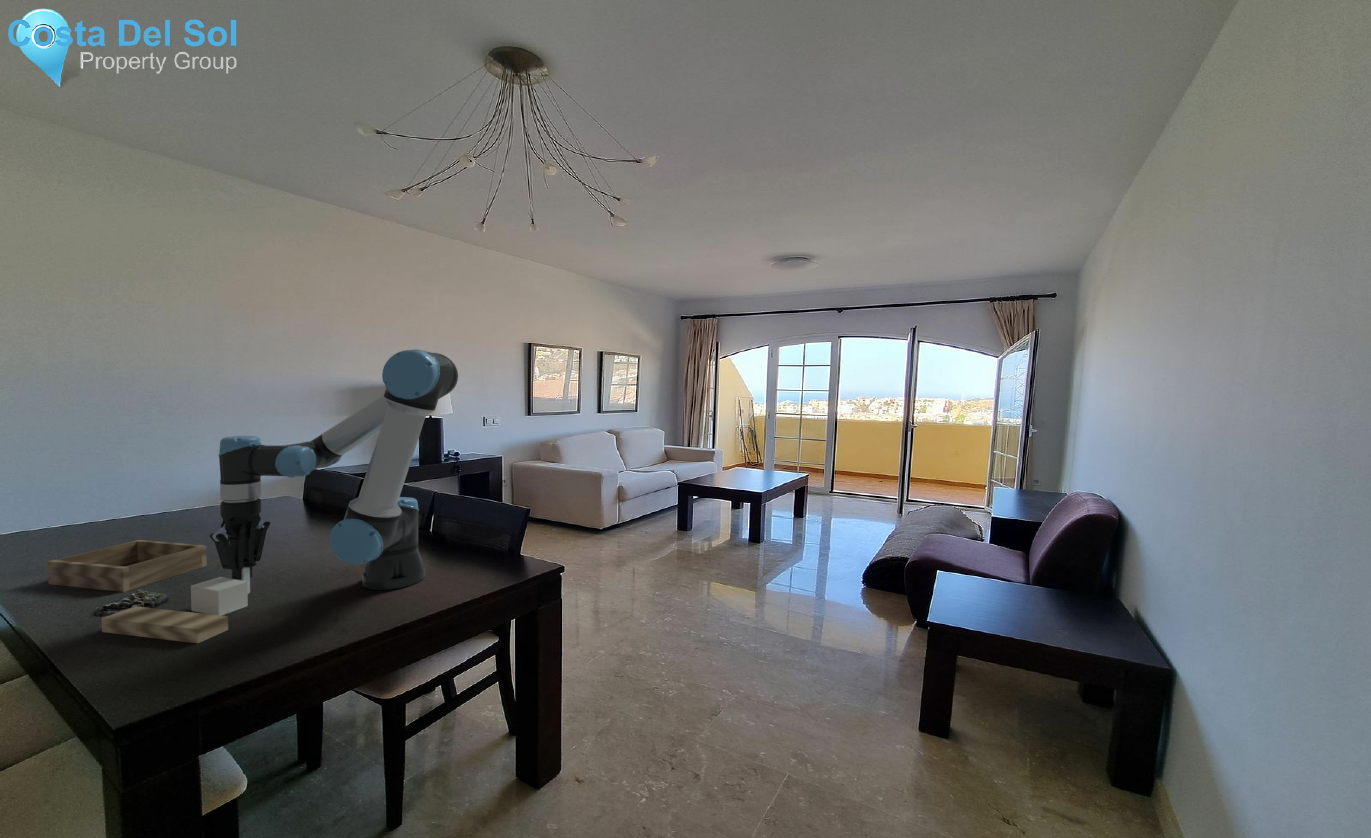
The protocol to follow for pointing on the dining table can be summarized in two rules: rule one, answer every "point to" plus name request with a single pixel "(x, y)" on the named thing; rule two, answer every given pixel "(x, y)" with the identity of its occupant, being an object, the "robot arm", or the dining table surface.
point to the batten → (165, 624)
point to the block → (219, 596)
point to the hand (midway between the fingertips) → (242, 593)
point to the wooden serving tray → (109, 573)
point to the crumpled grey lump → (133, 602)
